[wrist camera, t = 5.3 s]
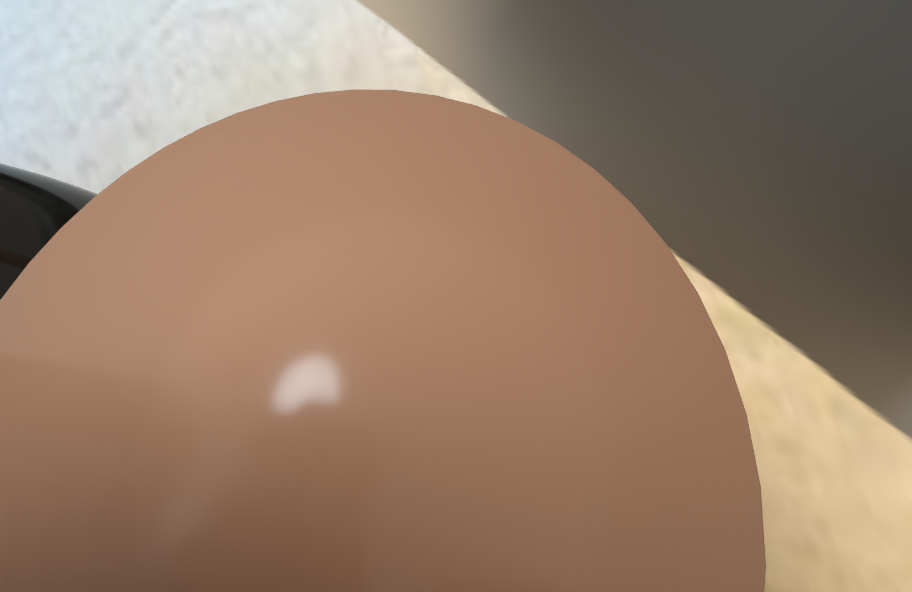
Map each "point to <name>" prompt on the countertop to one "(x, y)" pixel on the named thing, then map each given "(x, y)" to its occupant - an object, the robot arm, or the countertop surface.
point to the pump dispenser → (31, 217)
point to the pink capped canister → (368, 373)
